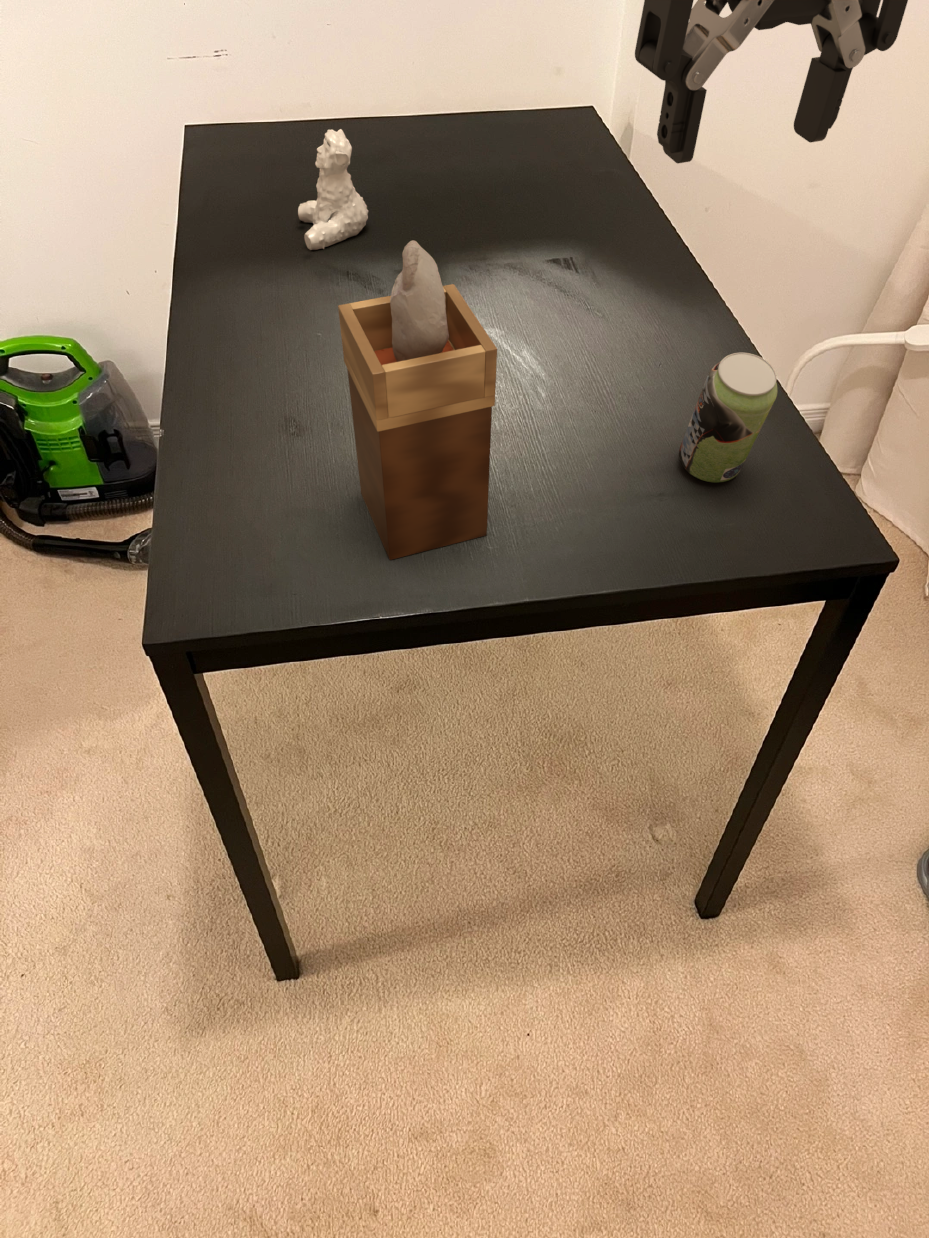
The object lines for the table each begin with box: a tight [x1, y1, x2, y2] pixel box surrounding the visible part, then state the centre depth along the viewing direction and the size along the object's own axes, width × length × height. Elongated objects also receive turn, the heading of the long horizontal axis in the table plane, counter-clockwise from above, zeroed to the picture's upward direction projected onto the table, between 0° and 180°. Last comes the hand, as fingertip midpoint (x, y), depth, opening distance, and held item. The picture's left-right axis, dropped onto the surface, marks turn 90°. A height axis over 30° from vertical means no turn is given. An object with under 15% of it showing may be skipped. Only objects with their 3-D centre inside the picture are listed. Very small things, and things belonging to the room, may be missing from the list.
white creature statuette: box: [297, 128, 369, 251], centre depth 107 cm, size 10×9×12 cm
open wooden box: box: [337, 283, 498, 432], centre depth 66 cm, size 9×9×5 cm
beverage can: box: [678, 352, 778, 483], centre depth 78 cm, size 6×7×12 cm
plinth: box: [346, 368, 493, 561], centre depth 74 cm, size 9×9×14 cm
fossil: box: [390, 240, 449, 362], centre depth 63 cm, size 6×4×10 cm, turn 26°
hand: (743, 147), depth 49 cm, fingers open, 8 cm apart
